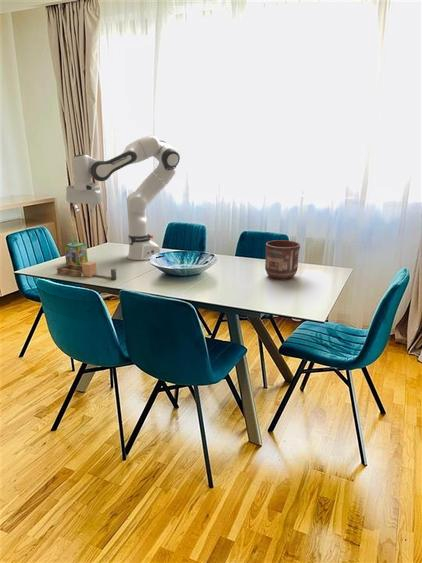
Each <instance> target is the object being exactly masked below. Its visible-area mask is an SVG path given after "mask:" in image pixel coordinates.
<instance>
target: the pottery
mask: <svg viewBox="0 0 422 563" xmlns="http://www.w3.org/2000/svg"><path fill="white" fill-rule="evenodd" d="M300 248H301V244H300V243H299V242H296V241H294V240H293V241H292V240H286V239H282V240H281V239H280V240H279V239H276V240H270V241H267V242H266V243H265V264H264V270H265V273H266V274H267V276H268V277H269V276H270V277H271V279H272V278H274V279H273V280H276V279H288V280H290V279H292V278H294V276H295V275H296V274H297V271H298V267H299V254H300ZM270 277H269V278H270Z"/></svg>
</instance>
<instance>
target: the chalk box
mask: <svg viewBox="0 0 422 563" xmlns="http://www.w3.org/2000/svg"><path fill="white" fill-rule="evenodd" d="M70 241H71V242H70V243H68V244H65V245H63V249H64V256H65V265H67V264H74V265H80V266H82V264H83V263H86V262H89V260H88V252H87V243H83V242H78V241H77V238H76V237H73V238H71V239H70ZM74 241H75V242H74Z"/></svg>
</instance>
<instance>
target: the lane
mask: <svg viewBox="0 0 422 563" xmlns="http://www.w3.org/2000/svg"><path fill="white" fill-rule="evenodd" d="M56 270H57V274H58V275H62V276H63V275H64V276H69V275H70V277H75V276H77V277H76V278H82V273H83V269H82V265H74V264H67V265H66V264H64V265H62V266H59V267H57V268H56ZM81 271H82V272H81Z"/></svg>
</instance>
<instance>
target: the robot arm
mask: <svg viewBox="0 0 422 563" xmlns="http://www.w3.org/2000/svg"><path fill="white" fill-rule="evenodd" d="M180 156H181V155H180V153H179V151H178V150H177V149H175V147H173V146H172V145H171V144H169V143H167V142H166V141H164V140H159V139H158V138H157V137H156V136H155V135H148V136H144V137H141V138H139V139H136V140H134V141H133V142H131V143H129V144H128V145H126V146H125V149H124V151H122V153H121V154H119V155H117V156H114V157H113V158H111V159H108V160H98V159H96V158H94V157H91V156H90V155H88V154H86V153H83V154H82V153H80V154H77V155H74V156H73V157H72V161H71V167H72V174H73V179H72V180H73V185H70V184H69V185H67V186H66V188H65V190H66V193H65V194H66V195H65V196H66V197H65V199H66V202H67V203H68V204H72V206H73V207H74V210H75V212H80V207H78V204H82V205H83V204H85V205H86V204H87V205H88V204H89V205H91V208H90V210H89V211H90V213H95V209H96V206H97V205H100V204H102V202H103V199H102V198H103V196H102V192H101V191H100V189H101V186H100V185H99V184H97V183H95V182H93V181H92V179H94V180H95V181H98V182H104V181H107V180H108V179H109V178H110V177H111V176H112V175H113V174H114V173H115V172H117V171H118V170H120V169H122V168H125V167H127V166H130V165H133V164H138V163H141V162H142V161H146V160H148V159H150V158H152V157H154V158H155V159H156V160H157V161H158V162H159V163H158V165H157V166H156V168H155V169H154V170H152V171H151V172H150V173H149V175H147V177H146V178H145V179H144V180H143V181H142V182H141V184H140V185H139V186H138V188H136V190H135V191H132V192H131V193H129V194H128V196H126V197H127V198H126V208H127V220H128V221H127V223H128V224H127V225H128V236H127V237H128V240H127V241H128V253H127V254H128V255H127V259H130V260H133V261H134V260H135V261H149V260H148V259H149V258H150V257H151V256H152V255H154V254H156V253H160V252H161V248H160V246H159V245H158V244H157V243H156V242H154V241H153V240H151V239H153V238H154V235H153V234H148V219H147V208H148V207H149V206H150V205H151V203H152V202H153V201H154V199H155V198H156V197H157V196H158V195H159V194H160V193H161V191H163V189H164V188H165V187H166V186H167V185H168V184H169V183H170V182H171V181H172V179H173V177H174V176H175V175H176V172H177V171H176V168H177V167H178V165H179V162H180V160H181V158H180Z"/></svg>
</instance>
